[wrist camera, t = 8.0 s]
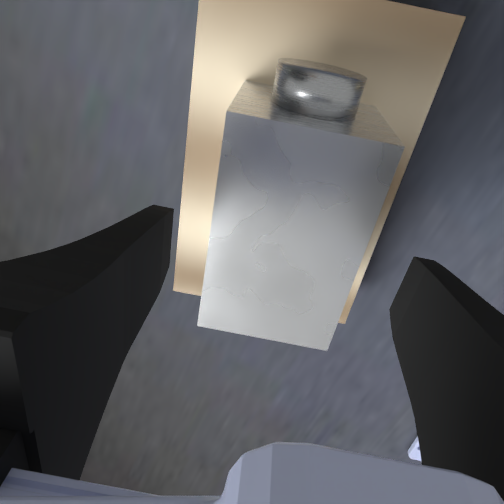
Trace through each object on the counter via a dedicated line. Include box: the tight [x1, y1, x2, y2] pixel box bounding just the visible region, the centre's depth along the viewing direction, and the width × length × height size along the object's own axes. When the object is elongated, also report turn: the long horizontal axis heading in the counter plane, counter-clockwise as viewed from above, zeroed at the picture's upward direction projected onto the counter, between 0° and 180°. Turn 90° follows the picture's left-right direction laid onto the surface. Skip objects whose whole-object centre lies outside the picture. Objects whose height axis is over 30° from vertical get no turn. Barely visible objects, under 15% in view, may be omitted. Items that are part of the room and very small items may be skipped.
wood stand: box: [173, 0, 466, 324], centre depth 19 cm, size 14×9×3 cm, turn 170°
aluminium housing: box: [197, 58, 405, 351], centre depth 15 cm, size 9×5×5 cm, turn 170°
